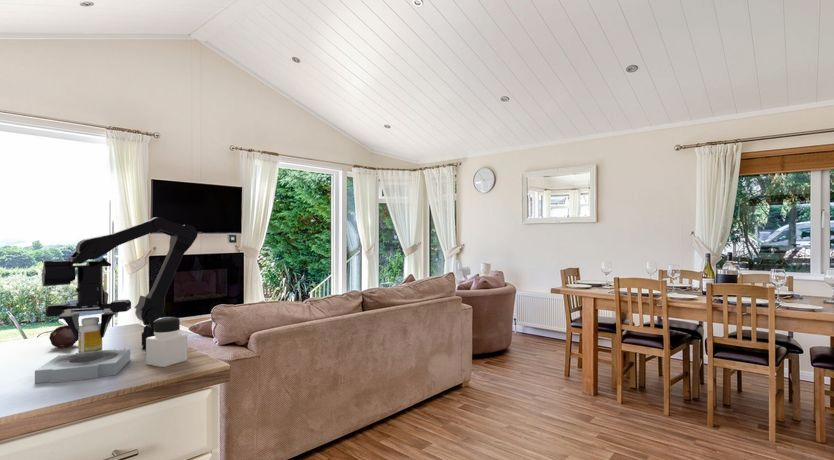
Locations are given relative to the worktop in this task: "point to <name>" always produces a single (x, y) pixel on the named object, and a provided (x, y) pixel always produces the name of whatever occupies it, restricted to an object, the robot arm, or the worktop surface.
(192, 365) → the worktop surface
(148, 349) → the medicine bottle
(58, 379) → the socket block
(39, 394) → the worktop surface
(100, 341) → the supplement bottle
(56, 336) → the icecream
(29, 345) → the worktop surface
